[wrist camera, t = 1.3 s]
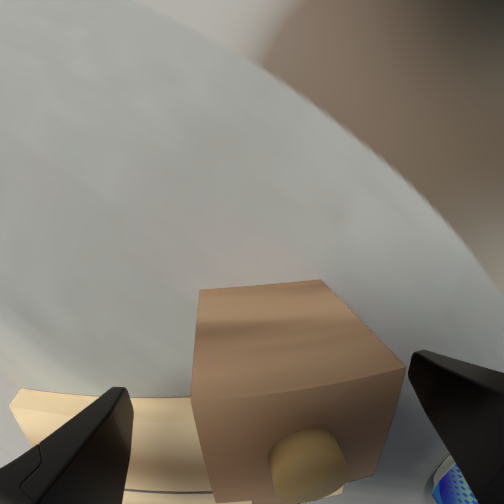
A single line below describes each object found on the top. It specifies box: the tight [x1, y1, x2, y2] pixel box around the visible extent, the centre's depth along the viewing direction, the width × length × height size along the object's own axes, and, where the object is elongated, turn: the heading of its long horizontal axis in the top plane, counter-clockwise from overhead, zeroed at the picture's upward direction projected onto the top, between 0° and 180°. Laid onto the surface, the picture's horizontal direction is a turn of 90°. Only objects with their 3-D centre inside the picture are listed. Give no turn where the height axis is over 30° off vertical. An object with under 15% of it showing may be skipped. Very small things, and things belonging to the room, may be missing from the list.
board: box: [9, 388, 345, 504], centre depth 12 cm, size 8×16×2 cm, turn 92°
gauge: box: [190, 280, 406, 504], centre depth 9 cm, size 11×4×7 cm, turn 2°
